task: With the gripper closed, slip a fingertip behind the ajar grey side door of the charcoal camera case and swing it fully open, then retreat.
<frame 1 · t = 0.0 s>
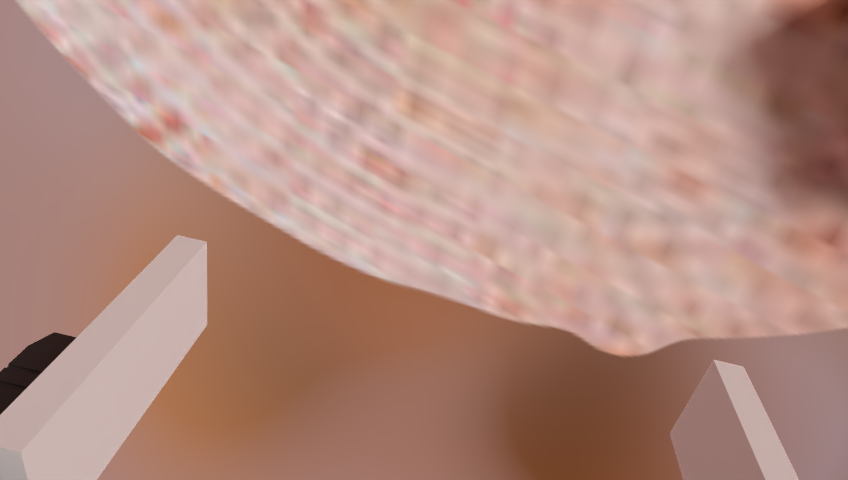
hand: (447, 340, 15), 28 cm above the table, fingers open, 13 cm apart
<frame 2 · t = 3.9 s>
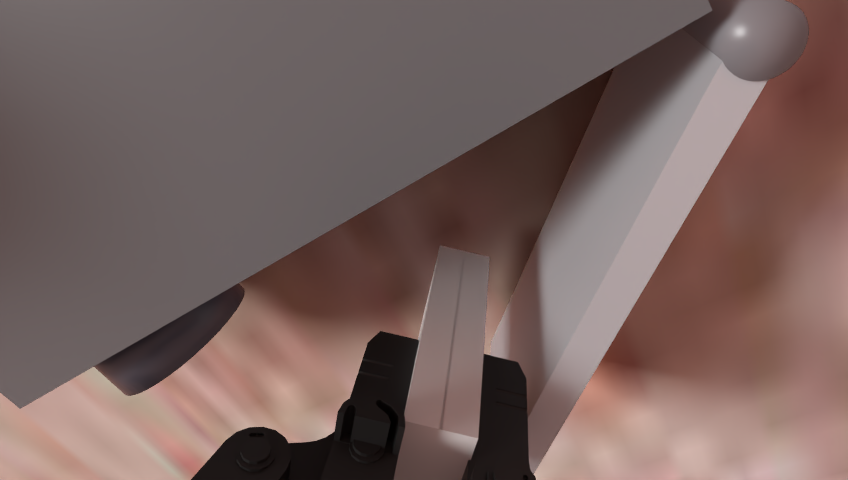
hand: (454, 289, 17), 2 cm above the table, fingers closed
case: (253, 11, 16), on the table
door: (600, 247, 15), point 4 cm above the table, hinge at 40.1°, touching gripper
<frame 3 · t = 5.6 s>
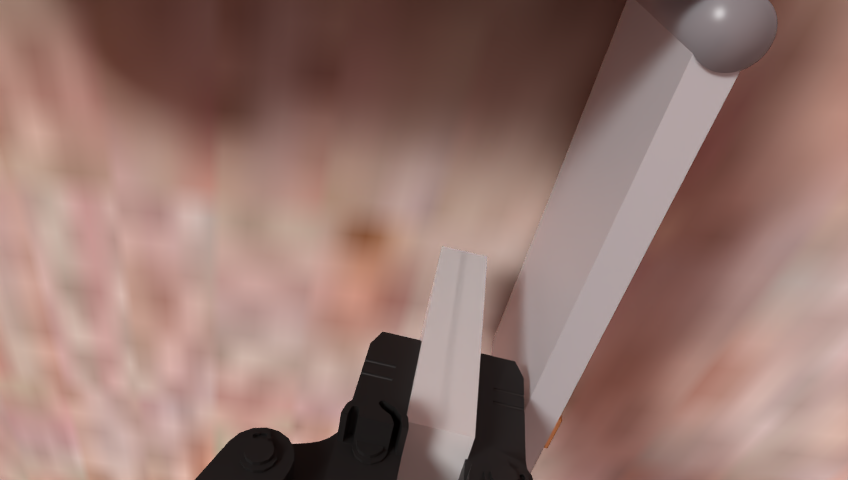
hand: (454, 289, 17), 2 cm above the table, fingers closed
door: (592, 244, 15), point 3 cm above the table, hinge at 79.8°, touching gripper
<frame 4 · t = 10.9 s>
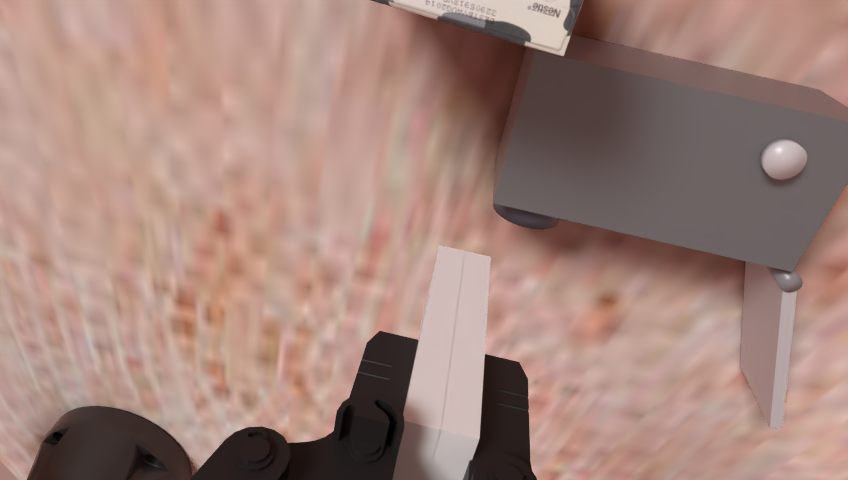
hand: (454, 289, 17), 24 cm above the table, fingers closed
case: (647, 126, 39), on the table
door: (771, 325, 41), point 4 cm above the table, hinge at 112.8°
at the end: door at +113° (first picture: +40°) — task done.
